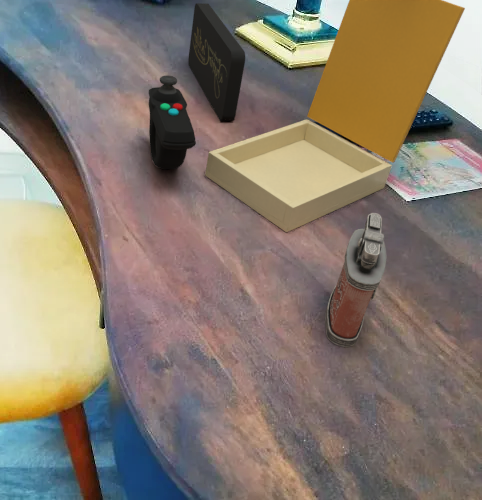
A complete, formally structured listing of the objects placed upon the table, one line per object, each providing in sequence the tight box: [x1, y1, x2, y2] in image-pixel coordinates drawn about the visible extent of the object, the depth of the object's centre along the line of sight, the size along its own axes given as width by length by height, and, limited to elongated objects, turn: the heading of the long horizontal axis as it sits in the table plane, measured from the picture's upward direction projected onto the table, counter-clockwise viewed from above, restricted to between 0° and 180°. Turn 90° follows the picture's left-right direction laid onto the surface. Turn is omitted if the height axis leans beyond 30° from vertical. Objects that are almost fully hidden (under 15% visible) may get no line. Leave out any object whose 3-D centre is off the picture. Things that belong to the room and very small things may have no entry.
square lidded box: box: [204, 118, 393, 233], centre depth 78 cm, size 18×14×3 cm
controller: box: [148, 75, 197, 170], centre depth 77 cm, size 4×12×10 cm, turn 8°
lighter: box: [324, 212, 387, 348], centre depth 58 cm, size 8×3×10 cm, turn 162°
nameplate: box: [187, 2, 246, 121], centre depth 95 cm, size 21×2×10 cm, turn 10°
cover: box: [306, 0, 466, 163], centre depth 77 cm, size 18×14×1 cm
